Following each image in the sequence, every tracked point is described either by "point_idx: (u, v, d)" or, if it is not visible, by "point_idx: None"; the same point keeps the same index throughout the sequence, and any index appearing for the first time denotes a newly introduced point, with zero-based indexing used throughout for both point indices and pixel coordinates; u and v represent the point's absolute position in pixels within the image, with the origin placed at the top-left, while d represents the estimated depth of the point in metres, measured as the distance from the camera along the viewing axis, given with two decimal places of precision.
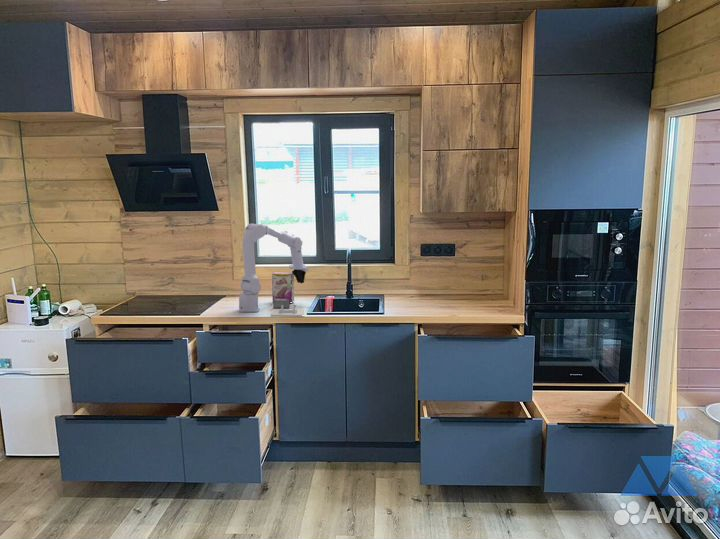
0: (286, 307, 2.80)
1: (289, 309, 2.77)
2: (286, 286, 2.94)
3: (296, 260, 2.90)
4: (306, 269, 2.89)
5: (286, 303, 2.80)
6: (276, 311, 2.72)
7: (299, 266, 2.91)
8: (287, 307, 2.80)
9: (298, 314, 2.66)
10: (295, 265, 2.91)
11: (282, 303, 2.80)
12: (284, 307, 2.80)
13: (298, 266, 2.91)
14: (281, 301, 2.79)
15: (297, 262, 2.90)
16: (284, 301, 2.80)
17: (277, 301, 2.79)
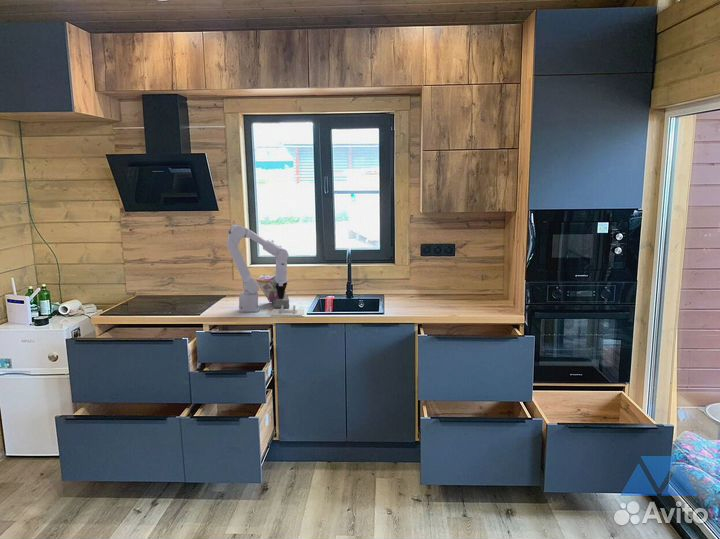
0: (286, 307, 2.80)
1: (289, 309, 2.77)
2: (272, 290, 2.87)
3: (277, 272, 2.77)
4: (280, 283, 2.73)
5: (286, 303, 2.80)
6: (276, 311, 2.72)
7: (278, 279, 2.77)
8: (287, 307, 2.80)
9: (298, 314, 2.66)
10: (276, 277, 2.79)
11: (282, 303, 2.80)
12: (284, 307, 2.80)
13: (278, 279, 2.78)
14: (281, 301, 2.79)
15: (277, 275, 2.77)
16: (284, 301, 2.80)
17: (277, 301, 2.79)
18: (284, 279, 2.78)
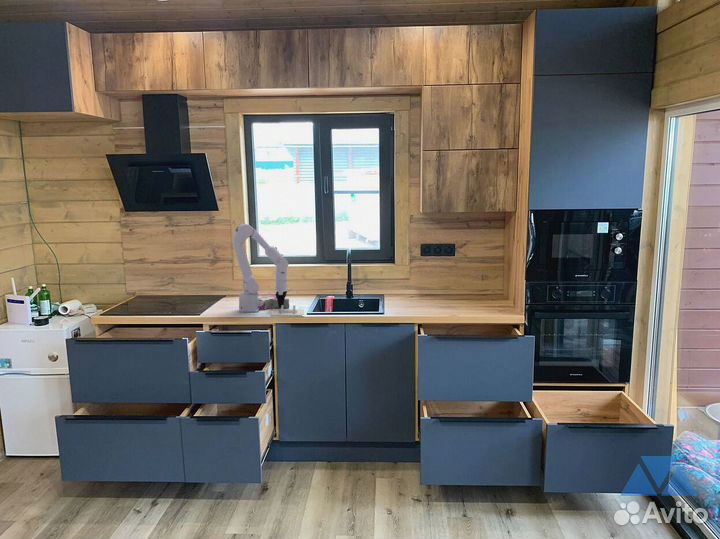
0: (286, 307, 2.80)
1: (289, 309, 2.77)
2: None
3: (277, 281, 2.78)
4: (279, 292, 2.74)
5: (286, 303, 2.80)
6: (276, 311, 2.72)
7: (278, 288, 2.78)
8: (287, 307, 2.80)
9: (298, 314, 2.66)
10: (276, 286, 2.79)
11: None
12: (284, 307, 2.80)
13: (277, 288, 2.78)
14: None
15: (277, 283, 2.78)
16: (284, 301, 2.80)
17: (277, 301, 2.79)
18: (284, 288, 2.79)
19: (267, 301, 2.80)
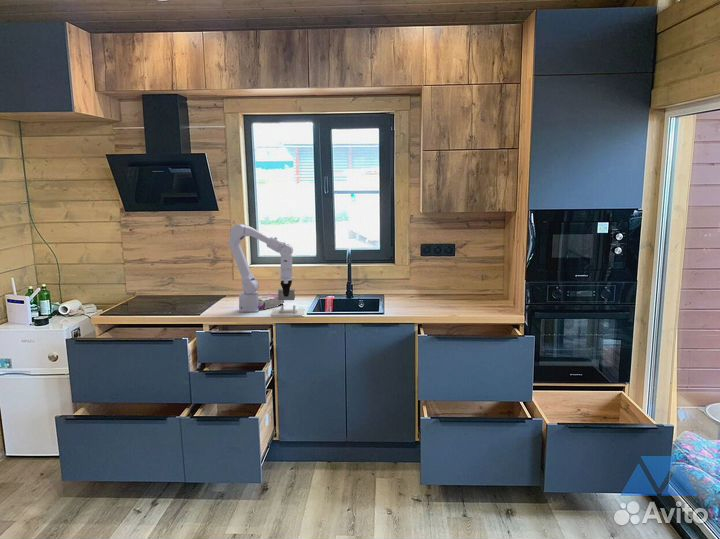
0: (292, 297, 2.72)
1: (289, 309, 2.77)
2: None
3: (282, 269, 2.70)
4: (285, 281, 2.65)
5: (292, 293, 2.72)
6: (276, 311, 2.72)
7: (283, 277, 2.70)
8: (293, 297, 2.72)
9: (298, 314, 2.66)
10: (281, 275, 2.71)
11: None
12: (290, 297, 2.72)
13: (282, 276, 2.70)
14: None
15: (282, 272, 2.70)
16: (290, 291, 2.71)
17: (282, 291, 2.71)
18: (289, 276, 2.70)
19: (267, 301, 2.80)
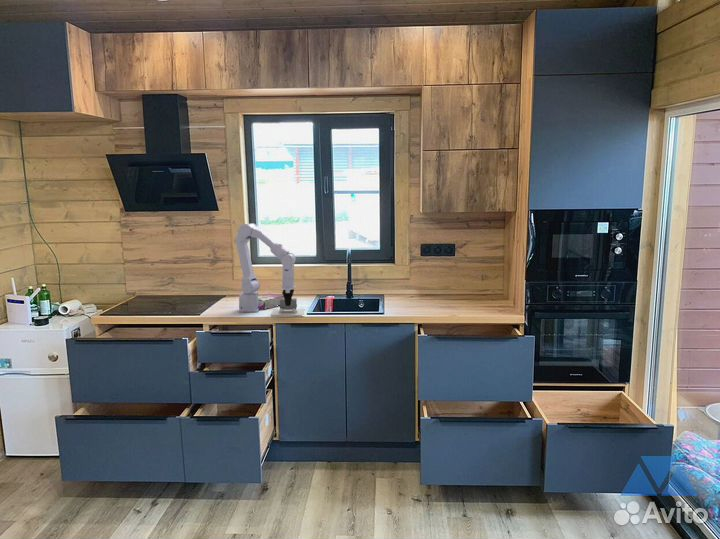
0: (293, 307, 2.69)
1: None
2: None
3: (284, 279, 2.67)
4: (287, 290, 2.63)
5: (294, 302, 2.69)
6: (276, 311, 2.72)
7: (285, 286, 2.67)
8: (294, 307, 2.69)
9: (298, 314, 2.66)
10: (282, 284, 2.68)
11: None
12: (291, 307, 2.69)
13: (284, 286, 2.67)
14: None
15: (284, 281, 2.67)
16: (291, 300, 2.69)
17: (284, 300, 2.68)
18: (291, 286, 2.68)
19: (267, 301, 2.80)
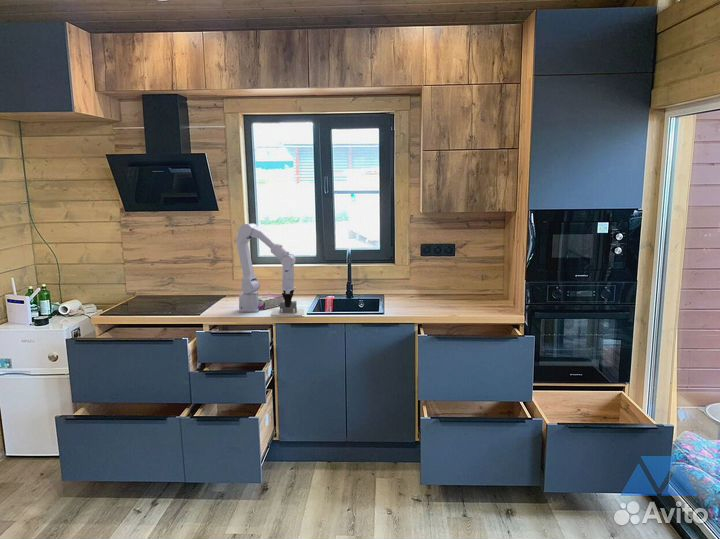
0: None
1: None
2: None
3: (284, 279, 2.67)
4: (287, 291, 2.63)
5: (293, 305, 2.69)
6: (276, 311, 2.72)
7: (285, 287, 2.67)
8: None
9: (298, 314, 2.66)
10: (282, 285, 2.68)
11: (290, 305, 2.69)
12: (291, 309, 2.69)
13: (284, 286, 2.67)
14: None
15: (284, 282, 2.67)
16: (291, 303, 2.69)
17: (284, 303, 2.69)
18: (291, 286, 2.68)
19: (267, 301, 2.80)
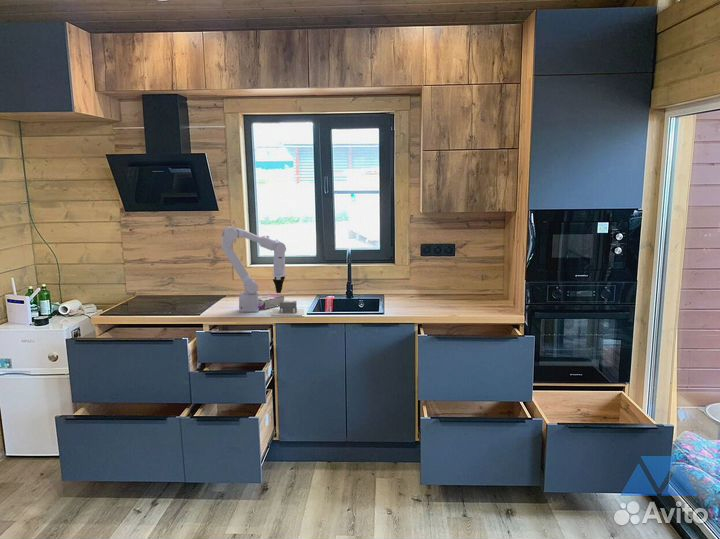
0: None
1: None
2: None
3: (275, 266, 2.75)
4: (277, 277, 2.70)
5: (293, 305, 2.69)
6: (276, 311, 2.72)
7: (276, 273, 2.75)
8: None
9: (298, 314, 2.66)
10: (274, 271, 2.76)
11: (290, 305, 2.69)
12: (291, 309, 2.69)
13: (275, 273, 2.75)
14: (288, 303, 2.69)
15: (275, 268, 2.75)
16: (291, 303, 2.69)
17: (284, 303, 2.69)
18: (282, 273, 2.75)
19: (267, 301, 2.80)
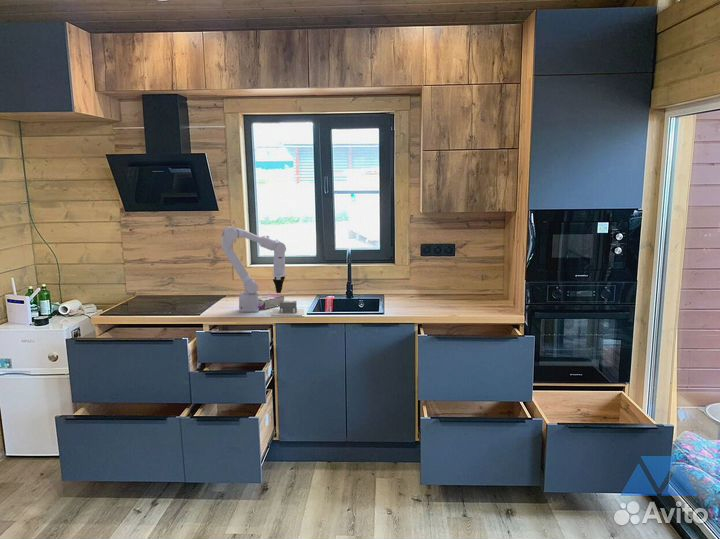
0: None
1: None
2: None
3: (275, 266, 2.75)
4: (277, 277, 2.70)
5: (293, 305, 2.69)
6: (276, 311, 2.72)
7: (276, 273, 2.75)
8: None
9: (298, 314, 2.66)
10: (274, 271, 2.76)
11: (290, 305, 2.69)
12: (291, 309, 2.69)
13: (275, 273, 2.75)
14: (288, 303, 2.69)
15: (275, 268, 2.75)
16: (291, 303, 2.69)
17: (284, 303, 2.69)
18: (282, 273, 2.75)
19: (267, 301, 2.80)
